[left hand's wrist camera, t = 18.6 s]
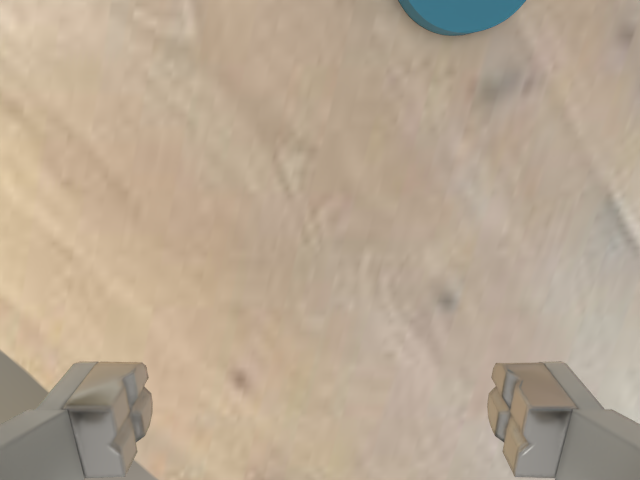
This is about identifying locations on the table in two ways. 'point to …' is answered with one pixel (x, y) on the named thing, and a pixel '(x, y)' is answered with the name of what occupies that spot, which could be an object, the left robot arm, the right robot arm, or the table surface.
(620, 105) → the table surface
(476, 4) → the camera mount
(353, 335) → the table surface
